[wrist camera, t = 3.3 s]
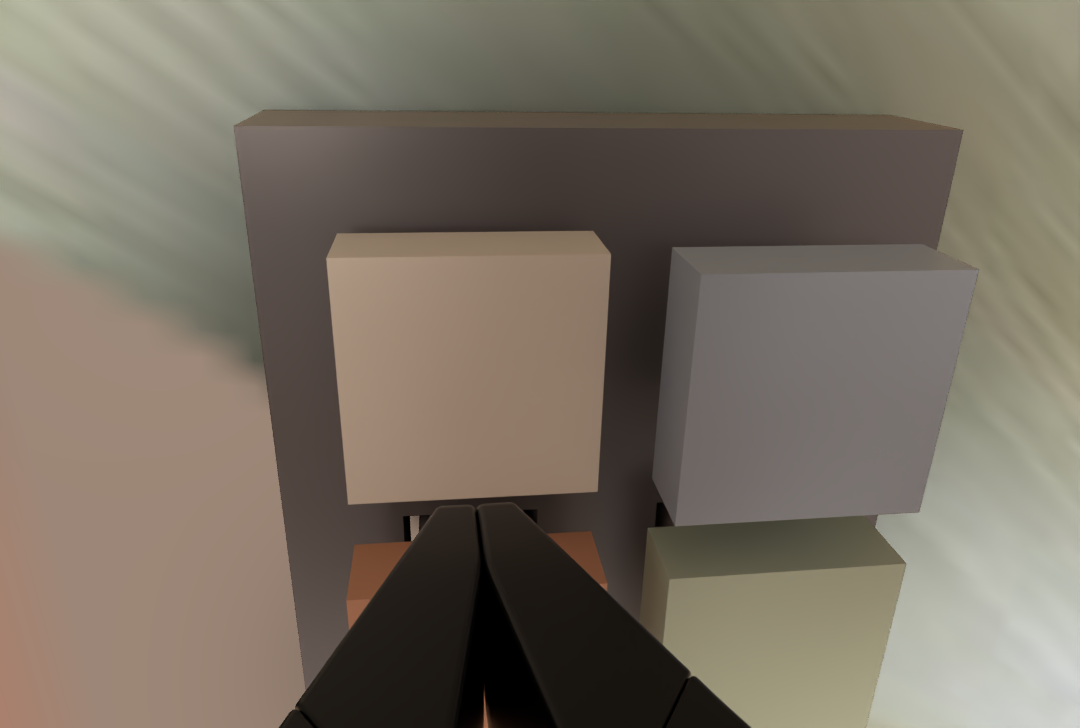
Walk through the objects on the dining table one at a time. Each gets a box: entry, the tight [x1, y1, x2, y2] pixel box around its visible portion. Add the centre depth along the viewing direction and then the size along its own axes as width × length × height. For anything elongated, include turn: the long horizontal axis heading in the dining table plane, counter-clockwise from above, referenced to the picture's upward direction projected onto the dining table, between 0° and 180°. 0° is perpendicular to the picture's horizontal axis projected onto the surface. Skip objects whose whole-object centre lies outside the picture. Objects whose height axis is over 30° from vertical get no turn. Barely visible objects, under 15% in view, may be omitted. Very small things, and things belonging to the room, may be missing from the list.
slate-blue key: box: [652, 244, 979, 526], centre depth 14 cm, size 4×4×4 cm
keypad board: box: [234, 110, 963, 690], centre depth 16 cm, size 12×12×2 cm
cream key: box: [326, 231, 611, 505], centre depth 14 cm, size 4×4×4 cm
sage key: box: [639, 502, 906, 728], centre depth 16 cm, size 4×4×4 cm
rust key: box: [346, 515, 607, 728], centre depth 15 cm, size 4×4×4 cm
